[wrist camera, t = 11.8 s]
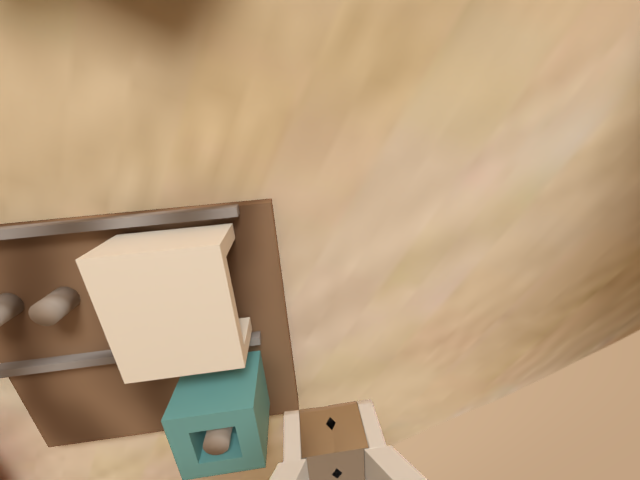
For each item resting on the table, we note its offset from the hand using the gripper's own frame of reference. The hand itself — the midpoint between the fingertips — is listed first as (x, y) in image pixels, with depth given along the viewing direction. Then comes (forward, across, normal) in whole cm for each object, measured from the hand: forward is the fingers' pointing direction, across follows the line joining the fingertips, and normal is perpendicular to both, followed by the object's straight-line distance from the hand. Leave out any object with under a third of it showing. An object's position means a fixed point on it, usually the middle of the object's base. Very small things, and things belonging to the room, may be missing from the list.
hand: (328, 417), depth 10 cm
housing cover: (+11, +8, 0) cm, 14 cm away
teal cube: (+11, +7, +9) cm, 16 cm away
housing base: (+12, +12, +4) cm, 18 cm away
